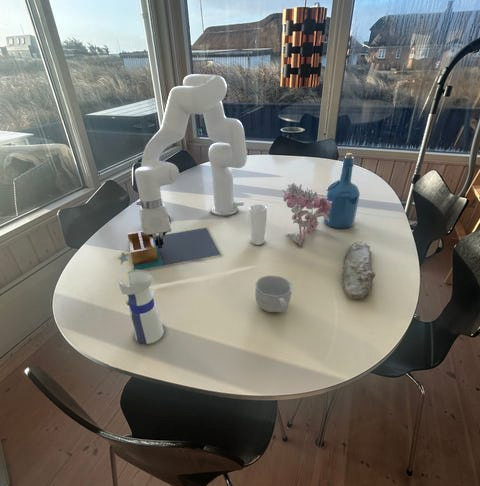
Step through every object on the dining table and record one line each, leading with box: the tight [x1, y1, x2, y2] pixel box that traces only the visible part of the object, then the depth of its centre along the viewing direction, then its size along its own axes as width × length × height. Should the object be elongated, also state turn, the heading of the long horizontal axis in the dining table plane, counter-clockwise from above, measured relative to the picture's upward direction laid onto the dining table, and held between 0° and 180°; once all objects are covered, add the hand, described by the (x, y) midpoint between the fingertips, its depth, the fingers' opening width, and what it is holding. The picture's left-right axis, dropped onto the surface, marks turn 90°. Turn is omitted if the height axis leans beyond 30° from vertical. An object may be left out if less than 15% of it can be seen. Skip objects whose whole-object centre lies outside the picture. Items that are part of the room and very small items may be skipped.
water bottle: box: [117, 251, 165, 345], centre depth 83 cm, size 8×9×25 cm
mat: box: [133, 227, 221, 270], centre depth 129 cm, size 32×24×1 cm
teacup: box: [254, 275, 293, 313], centre depth 95 cm, size 14×11×8 cm
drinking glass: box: [248, 204, 268, 246], centre depth 127 cm, size 7×7×15 cm
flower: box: [281, 182, 332, 247], centre depth 130 cm, size 20×22×25 cm
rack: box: [127, 230, 158, 266], centre depth 124 cm, size 9×16×6 cm, turn 20°
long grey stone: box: [342, 241, 376, 300], centre depth 111 cm, size 35×5×10 cm
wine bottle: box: [323, 152, 361, 229], centre depth 136 cm, size 14×13×30 cm
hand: (159, 246), depth 126 cm, fingers closed
